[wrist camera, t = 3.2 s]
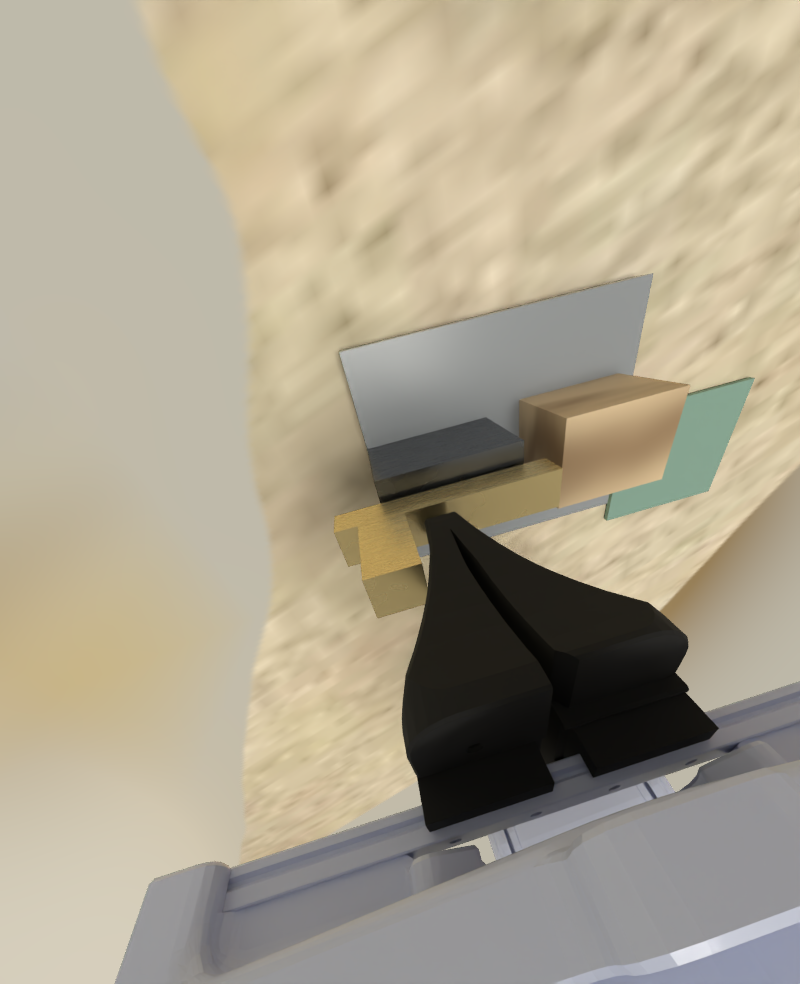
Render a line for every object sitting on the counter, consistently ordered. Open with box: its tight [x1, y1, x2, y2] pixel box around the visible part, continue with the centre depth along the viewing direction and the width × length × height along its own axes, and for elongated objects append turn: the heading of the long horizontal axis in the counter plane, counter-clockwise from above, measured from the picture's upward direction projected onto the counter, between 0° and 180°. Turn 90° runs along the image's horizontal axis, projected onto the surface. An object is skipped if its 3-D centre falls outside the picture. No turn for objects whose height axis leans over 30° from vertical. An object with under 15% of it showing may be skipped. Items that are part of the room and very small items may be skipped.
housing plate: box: [339, 273, 653, 557], centre depth 16 cm, size 14×16×5 cm
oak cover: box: [519, 373, 690, 509], centre depth 16 cm, size 5×6×4 cm
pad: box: [604, 377, 755, 520], centre depth 21 cm, size 9×9×1 cm
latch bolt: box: [334, 458, 563, 618], centre depth 12 cm, size 2×10×4 cm, turn 102°
